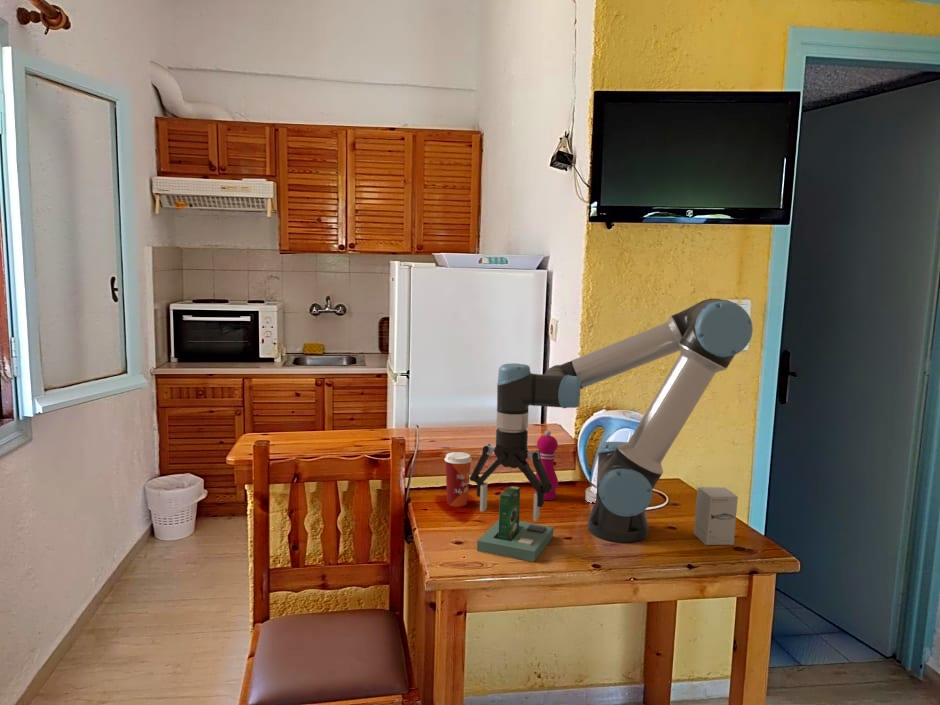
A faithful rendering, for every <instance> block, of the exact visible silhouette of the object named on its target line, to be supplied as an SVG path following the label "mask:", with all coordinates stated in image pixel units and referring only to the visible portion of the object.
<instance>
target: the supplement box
mask: <svg viewBox="0 0 940 705" xmlns="http://www.w3.org/2000/svg"><path fill="white" fill-rule="evenodd" d="M696 491H697V492H696V503H695V504H696V505H695V516H694V529H693V534H694V536H695V537H697V538H698V539H699V541H701V542H702V543H703V544H704V545H705V546H714V545H715V546H717V545H718V546H719V545H721V546H724V545H726V546H727V545H728V546H733V545H734V544H735V534H736V521H737V509H738V499H739V497H738V495H737V494H735V493H733V491H731V490H729V489H728V488H726V487H725V486H724V487H723V486H721V487H719V486H718V487H717V486H715V487H714V486H713V487H712V486H711V487H710V486H709V487H708V486H707V487H706V486H705V487H704V486H703V487H701V486H699V487H697V490H696Z"/></svg>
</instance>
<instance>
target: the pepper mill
mask: <svg viewBox="0 0 940 705" xmlns="http://www.w3.org/2000/svg"><path fill="white" fill-rule="evenodd" d="M551 434H552V433H551V431H550V430H545V431H544V435H542V436H540V437H538V439H537V441H536V449H538V451H540V457H541V462H542V464H543V466H544V469H545V471H546V473H547V476H548V478H549V480H550V483H551V485H552V490H551V491H550V492H549V493H544V500H551V501H554V500H556V499H555V498H557V491H556V489H557V488H558V486H559V479H558V476H557V473H556V470H555V466H554V462H555V458H556V451H557V450H558V445H559V444H558V440H557V438H555V437H554V436H552V435H551ZM534 474H535V475H536V477H537V478H538V479H539V476H538V474H537V472H536V471H535V473H534ZM539 481H540V479H539ZM540 482H541V481H540ZM541 484H542V483H541ZM535 493H536V490H535V489H534V494H535ZM553 499H554V500H553Z"/></svg>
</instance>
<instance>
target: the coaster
mask: <svg viewBox="0 0 940 705" xmlns="http://www.w3.org/2000/svg"><path fill="white" fill-rule="evenodd" d="M590 489H591V486H588V487H587V488H586V489H585V494H584V495H585V498H584V501H585V500H586V501H587V502H590V503H592V502H595V501H596V500H595V499H596V494H594V493H593V492H592V491H591V490H590ZM586 501H585V502H586ZM587 502H586V503H587Z"/></svg>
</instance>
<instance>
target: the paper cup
mask: <svg viewBox="0 0 940 705" xmlns="http://www.w3.org/2000/svg"><path fill="white" fill-rule="evenodd" d="M444 461H445V478H446V479H445V480H446V481H445V482H446V502H447V505H448V506H451V507H455V508H461V507H465V506H467V504H468V497H469V487H470V476H471V463H472V461H473V459H472V457H471V455H470V454H469V453H467V452H462V451H461V452H460V451H456V452H455V451H454V452H453V451H452V452H448V453H446V454H445V457H444Z"/></svg>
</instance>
